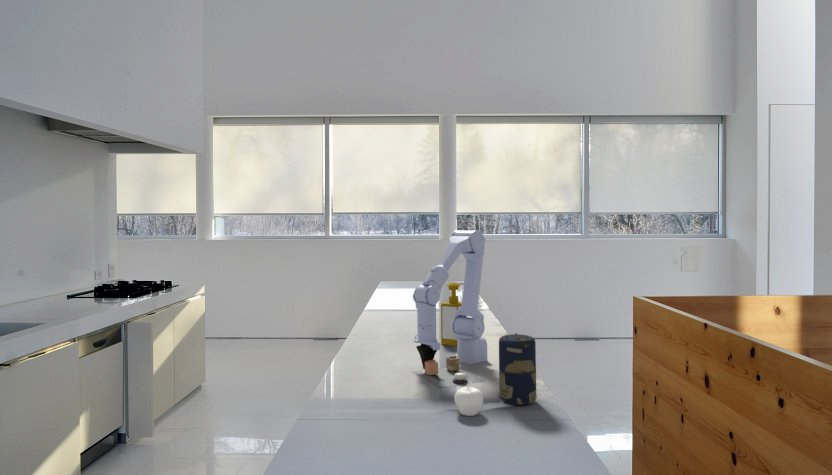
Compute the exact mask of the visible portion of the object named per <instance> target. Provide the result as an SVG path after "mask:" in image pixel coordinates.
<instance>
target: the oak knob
mask: <svg viewBox="0 0 832 475" xmlns="http://www.w3.org/2000/svg"><path fill="white" fill-rule="evenodd" d="M445 362H446V365H445V368H446V369H448V370H450V371H454V370H459V368H460V363H459V358H457V355H452V356H448V357H445Z"/></svg>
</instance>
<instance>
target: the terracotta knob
mask: <svg viewBox="0 0 832 475" xmlns="http://www.w3.org/2000/svg"><path fill="white" fill-rule="evenodd" d="M438 369H439V362H438V361H436V359H433V360H427V361H425V369H424V370H425V373H426V374H428V375H435V374H438Z"/></svg>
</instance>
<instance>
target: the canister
mask: <svg viewBox="0 0 832 475" xmlns="http://www.w3.org/2000/svg"><path fill="white" fill-rule="evenodd" d="M536 350H537V349H536V339H535V338H534V337H533V336H530V335H527V334H518V333H517V332H516V333H515V334H514V333H513V334H505V335H502V336H500V337H499V339H498V366H499V367H498V377H499V378H498V384H499V385H498V388H499V391H498V392H499V398H500V399H501V400H502V401H503V403H505V404H509V405H528V404H532V403H533V402H534V401H536V398H537V359H536V358H537V352H536Z"/></svg>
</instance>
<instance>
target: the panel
mask: <svg viewBox="0 0 832 475" xmlns="http://www.w3.org/2000/svg"><path fill="white" fill-rule="evenodd" d="M412 373H413V374H415V375H417V376H418V377H419V378H421V379H423V380H425V381H426V382H428V383H430V384H432V385H433V386H435V387H436V388H438V389H440V388H449V387H454V386H456V387H457V386H461V385H469V384H470V382H472V383H471V384H478V383H483V382H486V380H484V379H483V378H481V377H478V376H476V375H474V374H473V373H470V372H468V371H466V370H464V369H462V368H460V367H459V370H454V371H450V370H448V369H446V367H441V368H439V367H438V374H435V375H428V374H426V373H425V369H423V370H417V371H416V370H415V371H412ZM455 373H465V380H455Z"/></svg>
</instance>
